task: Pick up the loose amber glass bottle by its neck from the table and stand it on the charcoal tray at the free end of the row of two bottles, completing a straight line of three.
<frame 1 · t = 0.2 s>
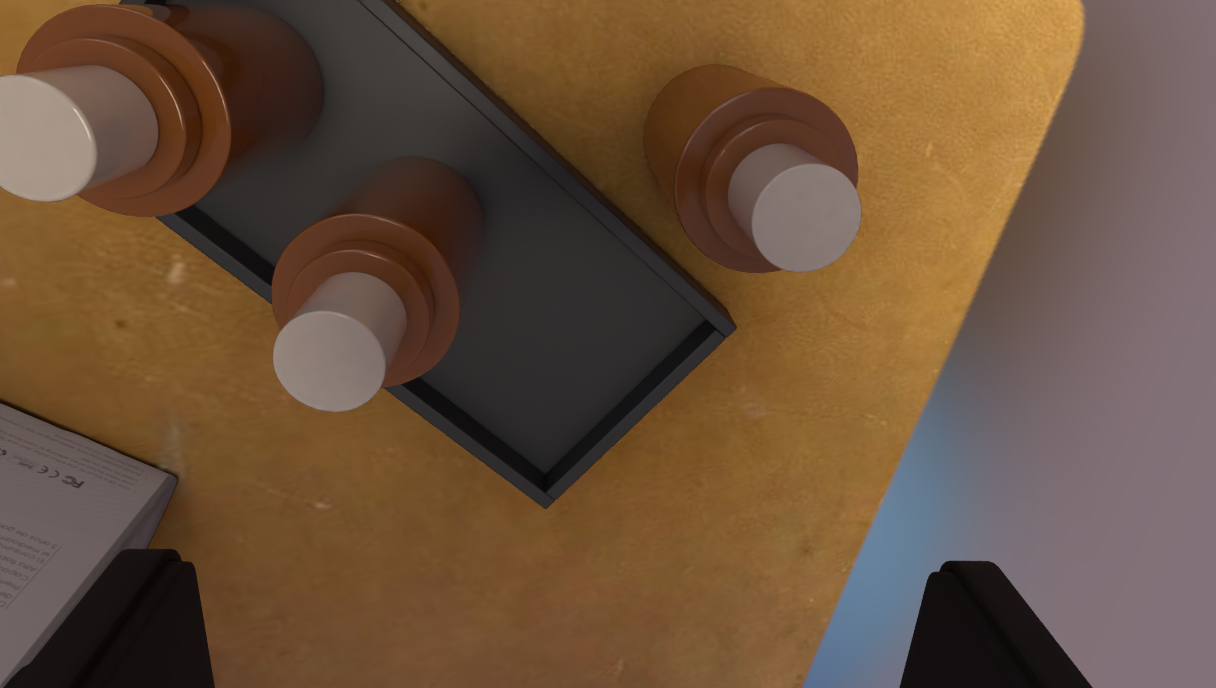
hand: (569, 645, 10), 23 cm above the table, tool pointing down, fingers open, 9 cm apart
tray: (420, 220, 32), on the table
loose bottle: (711, 136, 31), on the table
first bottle: (248, 83, 29), point 1 cm above the table, touching tray
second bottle: (417, 224, 31), point 1 cm above the table, touching tray
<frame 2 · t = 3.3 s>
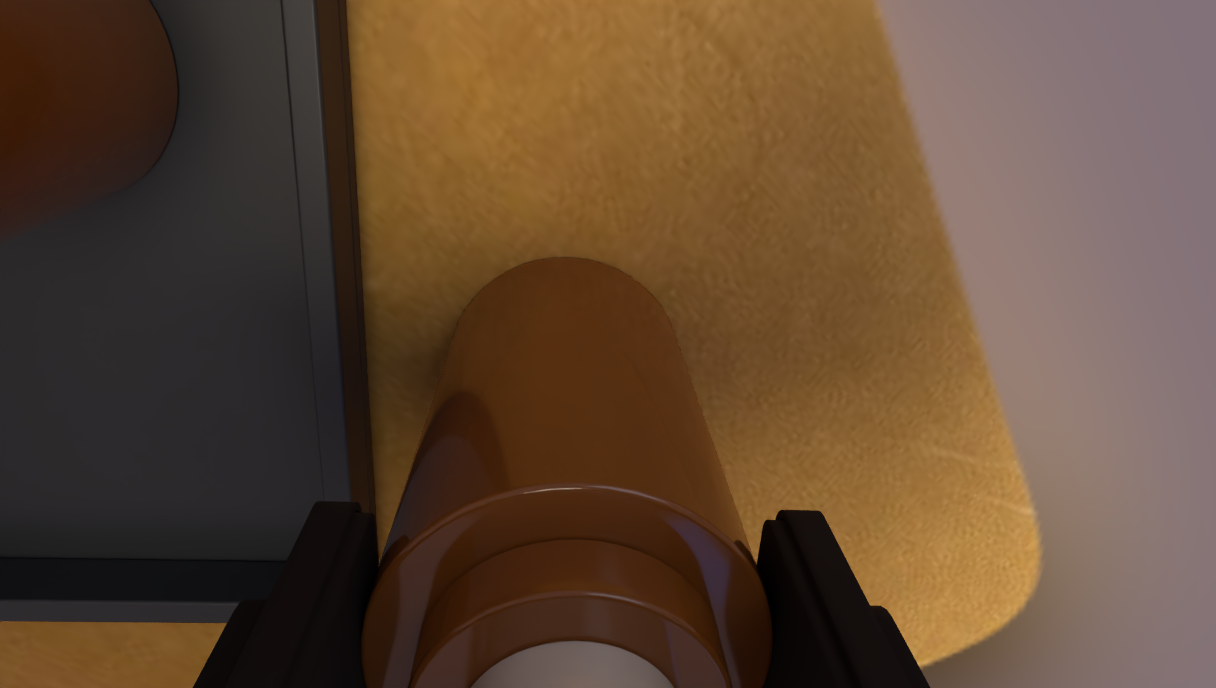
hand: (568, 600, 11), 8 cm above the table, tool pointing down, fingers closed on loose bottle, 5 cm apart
tray: (49, 61, 15), on the table
loose bottle: (565, 366, 19), on the table, touching gripper
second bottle: (31, 63, 15), point 1 cm above the table, touching tray
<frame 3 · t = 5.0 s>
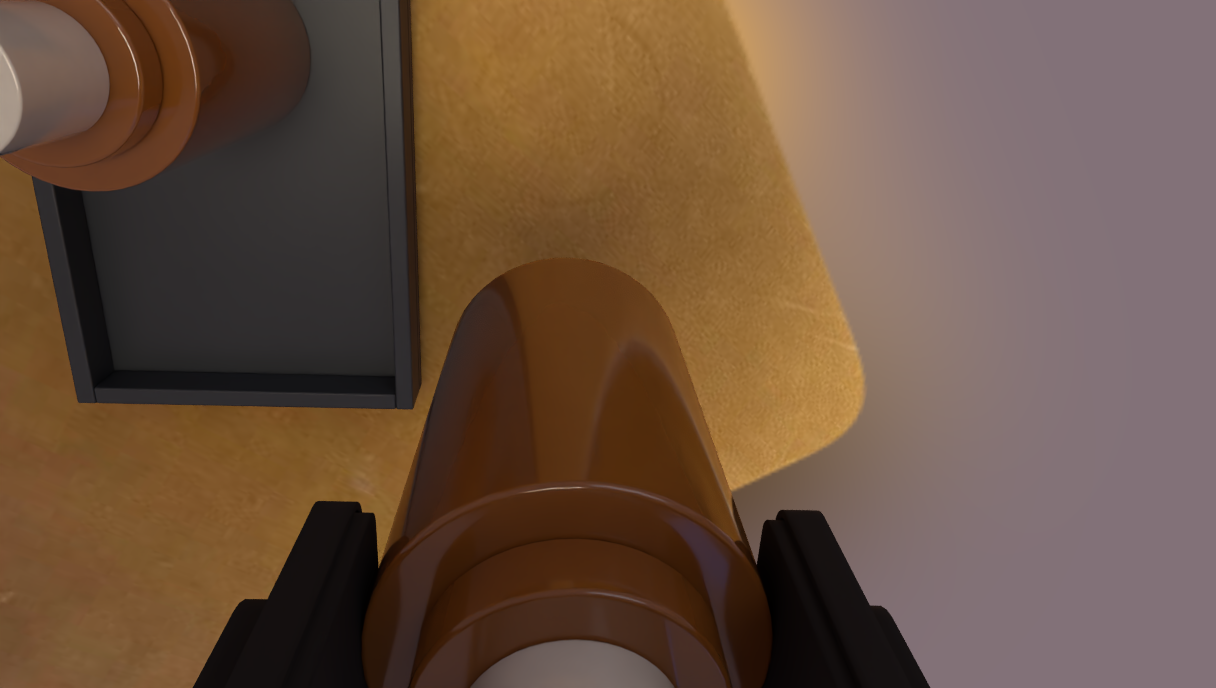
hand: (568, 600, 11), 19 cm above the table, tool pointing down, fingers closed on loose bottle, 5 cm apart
tray: (231, 47, 26), on the table
loose bottle: (565, 366, 19), point 11 cm above the table, touching gripper
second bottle: (224, 48, 25), point 1 cm above the table, touching tray
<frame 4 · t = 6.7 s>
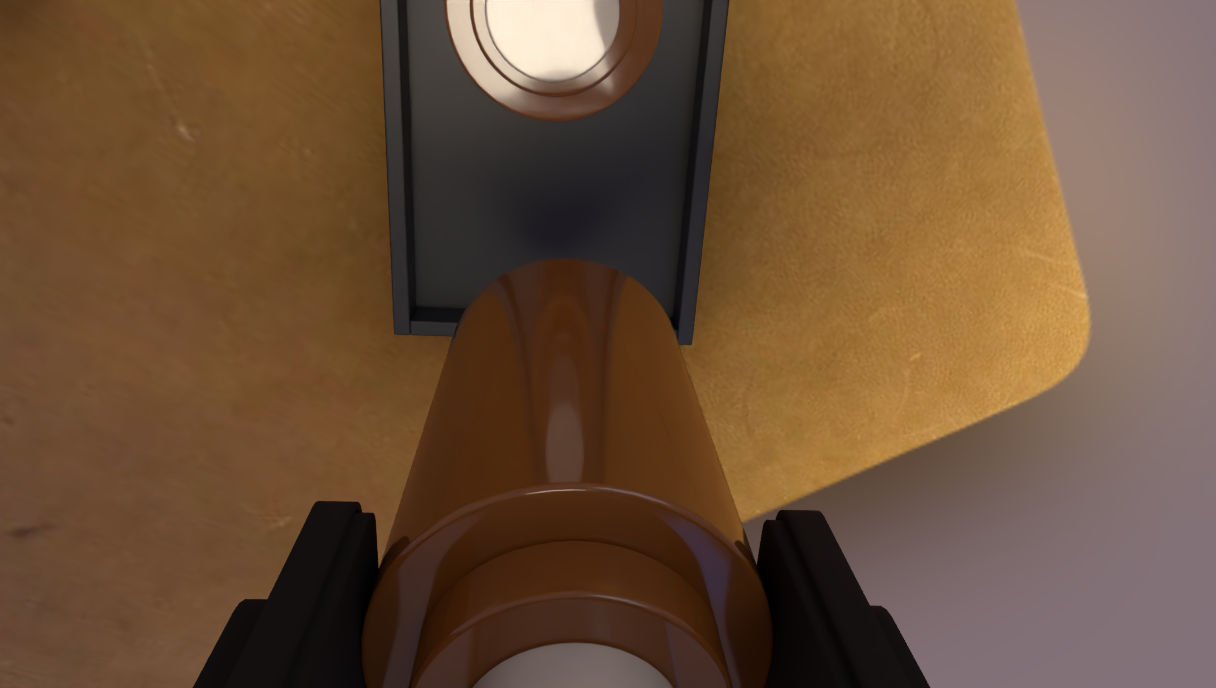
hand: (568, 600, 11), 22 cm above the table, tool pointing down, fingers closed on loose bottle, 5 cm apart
tray: (556, 7, 28), on the table
loose bottle: (565, 367, 19), point 14 cm above the table, touching gripper
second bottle: (556, 7, 28), point 1 cm above the table, touching tray
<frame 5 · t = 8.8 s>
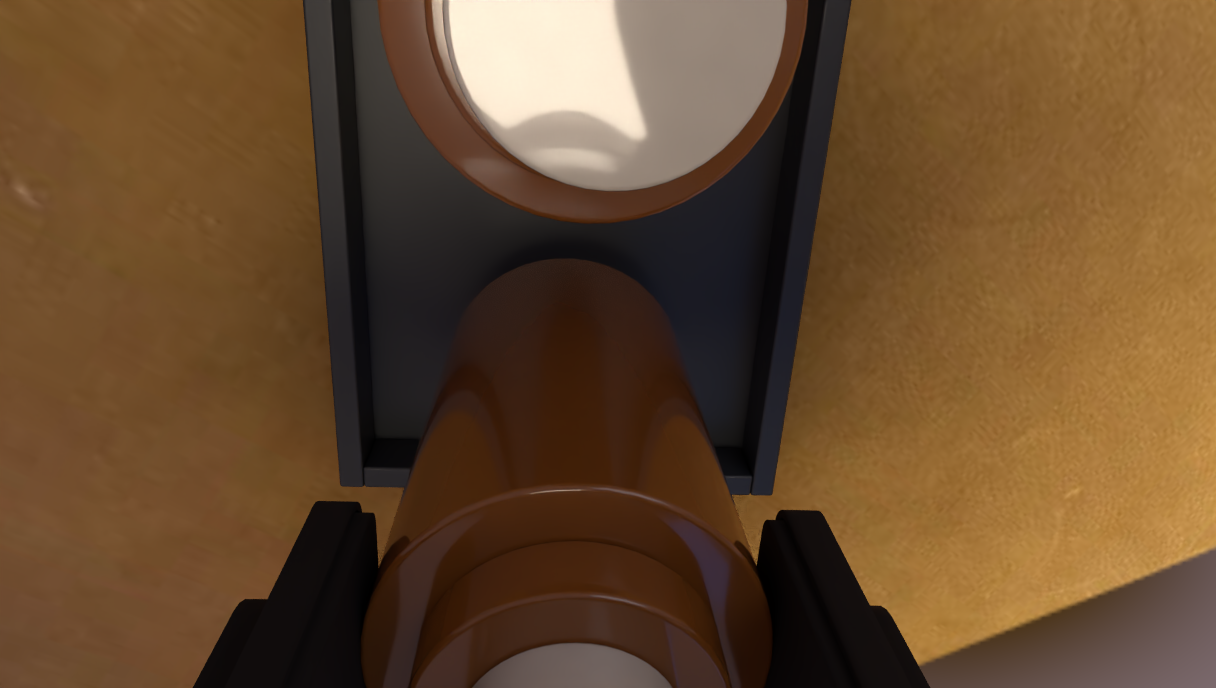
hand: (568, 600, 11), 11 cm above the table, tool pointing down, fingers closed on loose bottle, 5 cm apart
tray: (579, 8, 19), on the table
loose bottle: (564, 367, 19), point 3 cm above the table, touching gripper
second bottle: (580, 8, 18), point 1 cm above the table, touching tray
when the fingers open (8 cm above the table, at t = 10.0 s): loose bottle stays where it is, resting on tray.
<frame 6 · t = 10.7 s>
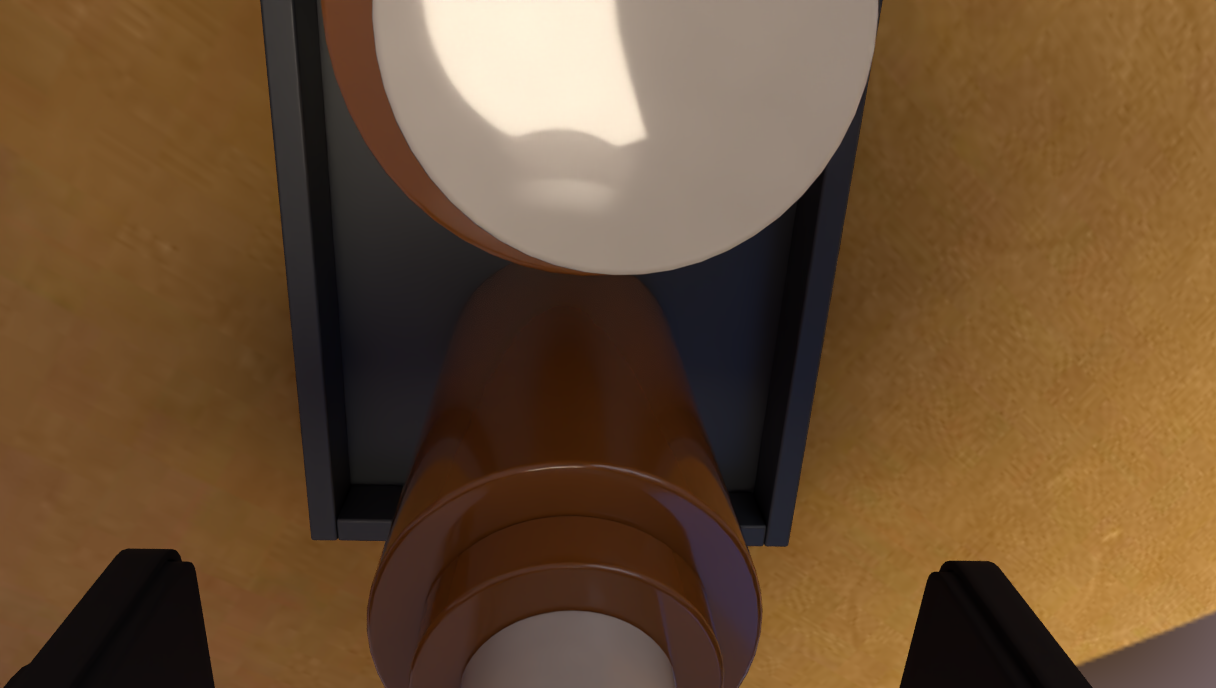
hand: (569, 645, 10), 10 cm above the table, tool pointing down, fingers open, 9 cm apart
tray: (575, 11, 17), on the table
loose bottle: (562, 359, 19), point 1 cm above the table, touching tray
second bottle: (575, 11, 16), point 1 cm above the table, touching tray
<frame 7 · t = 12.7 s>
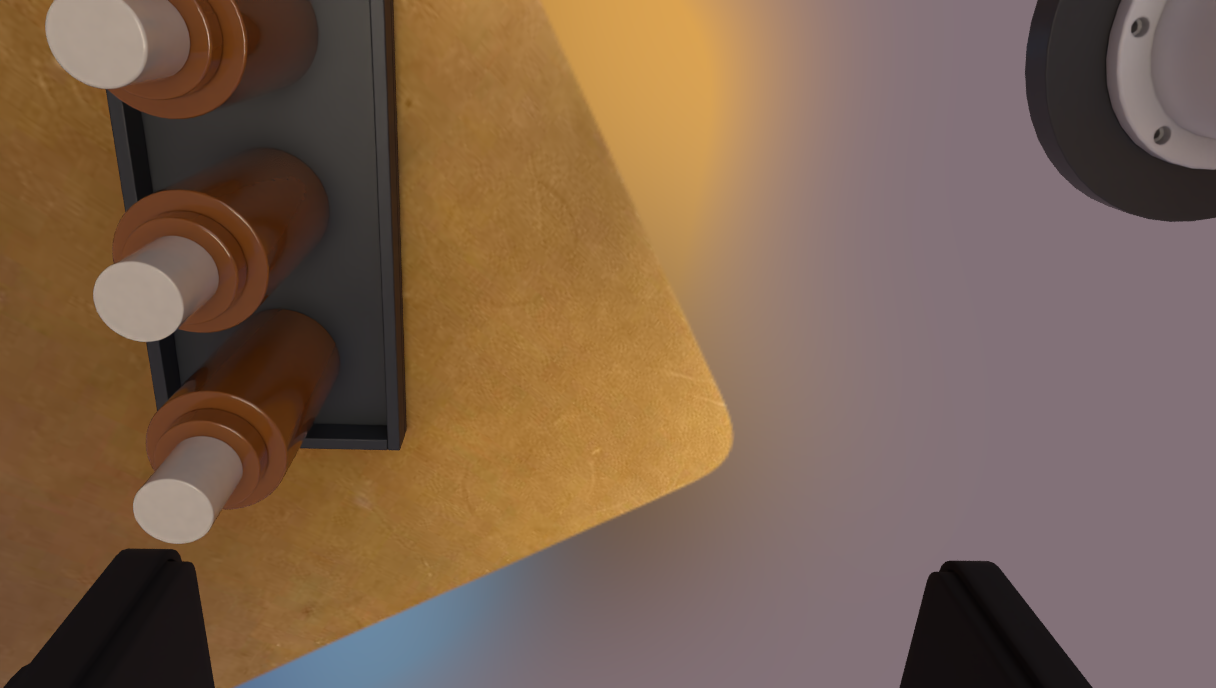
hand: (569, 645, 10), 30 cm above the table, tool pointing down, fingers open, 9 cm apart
tray: (274, 202, 37), on the table
loose bottle: (285, 358, 40), point 1 cm above the table, touching tray
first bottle: (254, 27, 34), point 1 cm above the table, touching tray
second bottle: (270, 205, 37), point 1 cm above the table, touching tray
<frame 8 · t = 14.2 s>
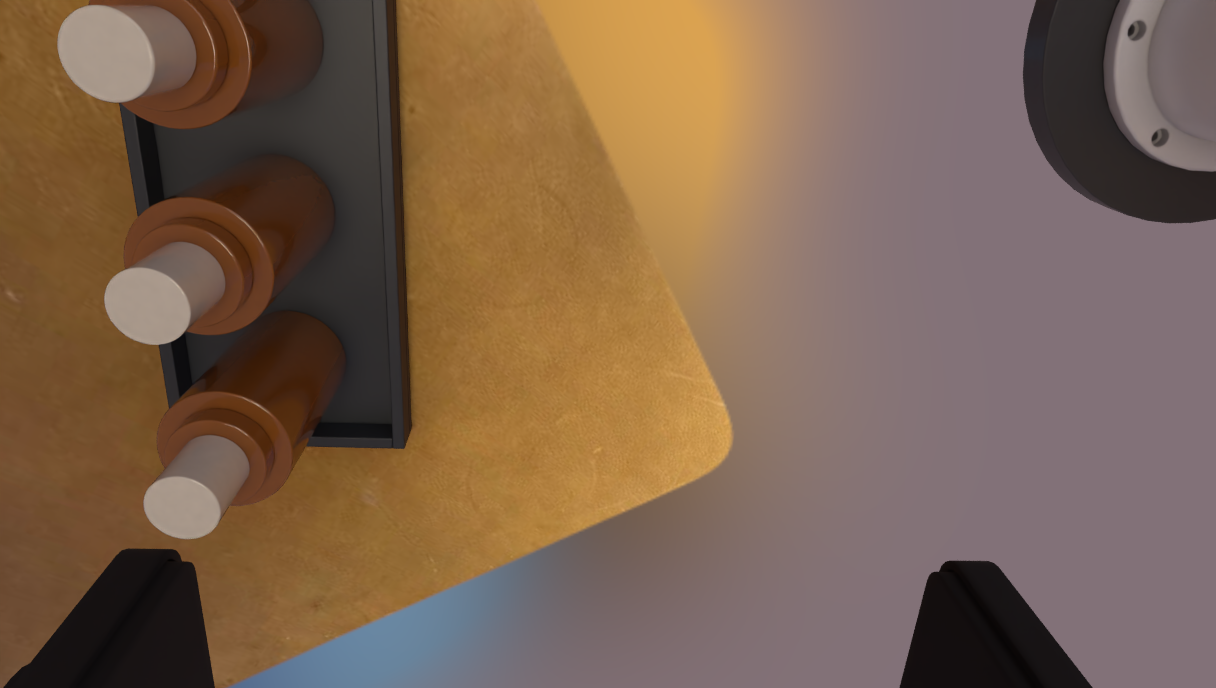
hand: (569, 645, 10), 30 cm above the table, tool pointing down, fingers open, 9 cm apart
tray: (282, 207, 38), on the table
loose bottle: (293, 359, 41), point 1 cm above the table, touching tray
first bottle: (261, 37, 35), point 1 cm above the table, touching tray
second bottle: (278, 210, 38), point 1 cm above the table, touching tray
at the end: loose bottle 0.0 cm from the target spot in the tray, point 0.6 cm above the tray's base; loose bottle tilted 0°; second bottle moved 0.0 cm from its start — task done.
